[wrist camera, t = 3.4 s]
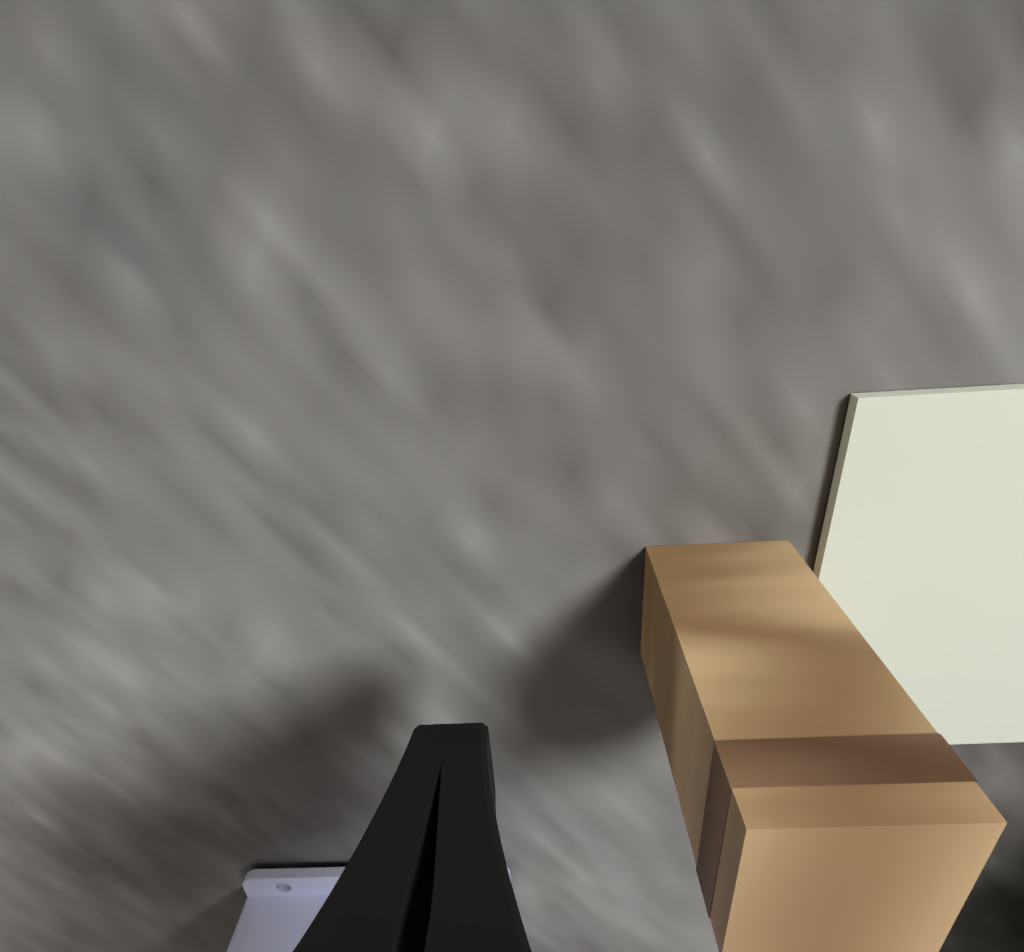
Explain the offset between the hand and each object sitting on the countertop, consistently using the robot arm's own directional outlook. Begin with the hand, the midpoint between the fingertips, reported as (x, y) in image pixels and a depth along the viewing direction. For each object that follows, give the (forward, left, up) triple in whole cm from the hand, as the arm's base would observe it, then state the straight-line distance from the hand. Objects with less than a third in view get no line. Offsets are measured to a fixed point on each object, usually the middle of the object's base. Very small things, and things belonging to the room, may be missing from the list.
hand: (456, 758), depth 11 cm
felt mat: (+14, 0, -4) cm, 14 cm away
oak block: (+6, 0, -4) cm, 8 cm away
